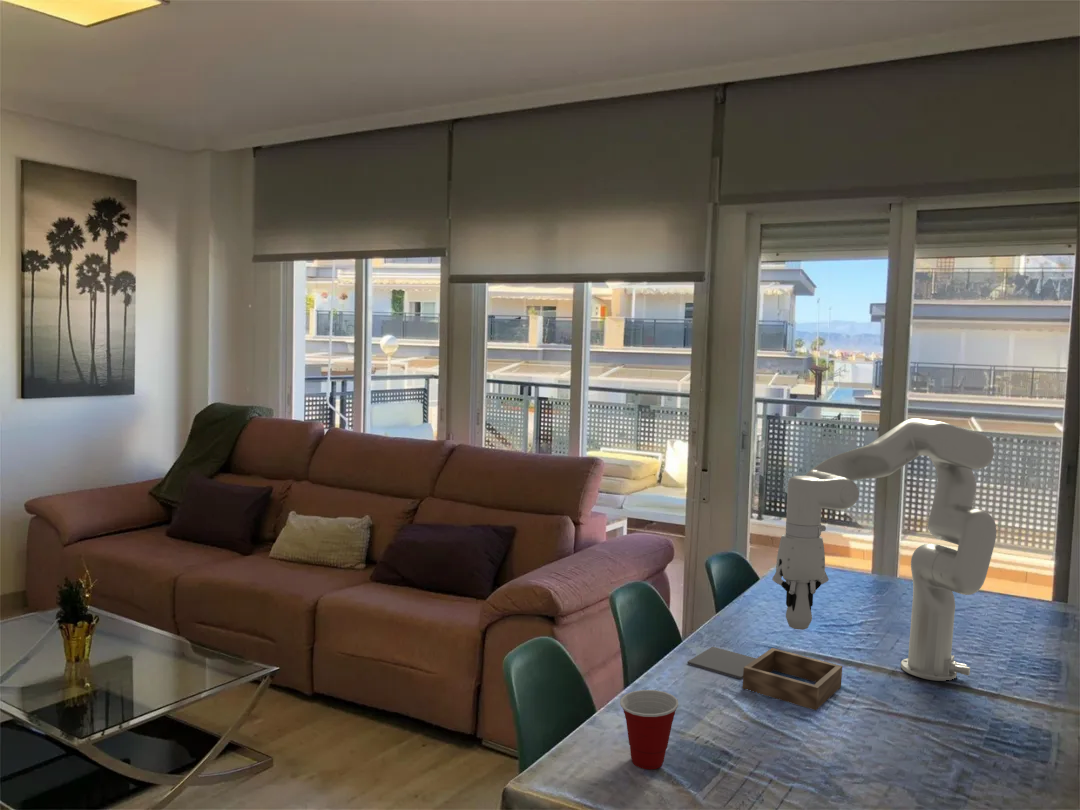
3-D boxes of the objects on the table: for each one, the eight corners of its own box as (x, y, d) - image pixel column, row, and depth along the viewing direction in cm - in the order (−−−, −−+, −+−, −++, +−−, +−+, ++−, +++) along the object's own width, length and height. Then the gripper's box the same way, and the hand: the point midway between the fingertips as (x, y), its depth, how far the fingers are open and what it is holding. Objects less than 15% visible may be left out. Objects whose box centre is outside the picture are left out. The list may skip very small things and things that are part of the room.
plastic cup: (612, 748, 164) (615, 687, 163) (667, 748, 165) (670, 687, 164) (622, 777, 153) (625, 712, 152) (681, 777, 154) (685, 712, 153)
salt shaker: (812, 632, 192) (815, 575, 191) (786, 629, 194) (789, 573, 193) (809, 623, 198) (812, 568, 197) (784, 621, 199) (786, 566, 198)
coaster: (764, 662, 212) (764, 660, 212) (741, 679, 201) (741, 676, 200) (712, 648, 220) (712, 646, 220) (687, 663, 209) (687, 661, 209)
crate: (840, 686, 198) (842, 666, 198) (816, 710, 185) (817, 688, 185) (770, 667, 209) (772, 647, 208) (742, 688, 195) (743, 667, 195)
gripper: (828, 526, 199) (824, 603, 200) (762, 527, 197) (758, 605, 198) (844, 534, 192) (840, 613, 193) (775, 534, 189) (771, 615, 191)
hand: (799, 608), depth 196 cm, fingers closed on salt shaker, 3 cm apart
